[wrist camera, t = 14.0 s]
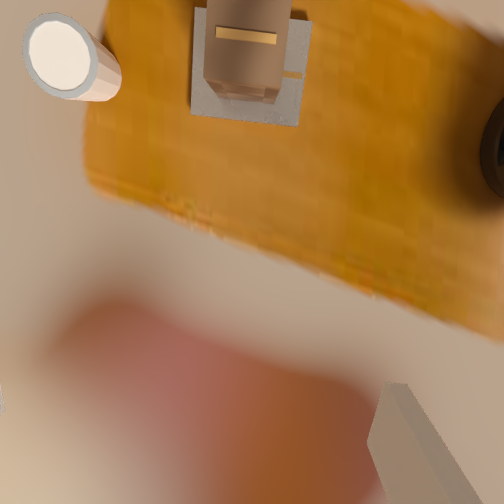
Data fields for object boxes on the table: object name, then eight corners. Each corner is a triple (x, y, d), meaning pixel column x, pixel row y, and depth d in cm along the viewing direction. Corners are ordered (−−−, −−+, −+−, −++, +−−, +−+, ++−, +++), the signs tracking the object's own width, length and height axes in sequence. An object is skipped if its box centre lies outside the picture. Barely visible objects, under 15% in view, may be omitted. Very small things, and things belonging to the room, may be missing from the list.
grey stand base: (310, 26, 33) (322, -1, 27) (296, 127, 37) (304, 123, 30) (197, 12, 33) (184, -18, 27) (193, 115, 36) (180, 109, 30)
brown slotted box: (280, 41, 32) (293, -10, 22) (273, 104, 34) (281, 86, 24) (223, 34, 32) (207, -21, 22) (219, 98, 34) (202, 76, 24)
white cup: (77, 24, 34) (32, -6, 27) (136, 59, 34) (108, 39, 28) (57, 87, 35) (11, 74, 29) (114, 119, 36) (83, 113, 30)
